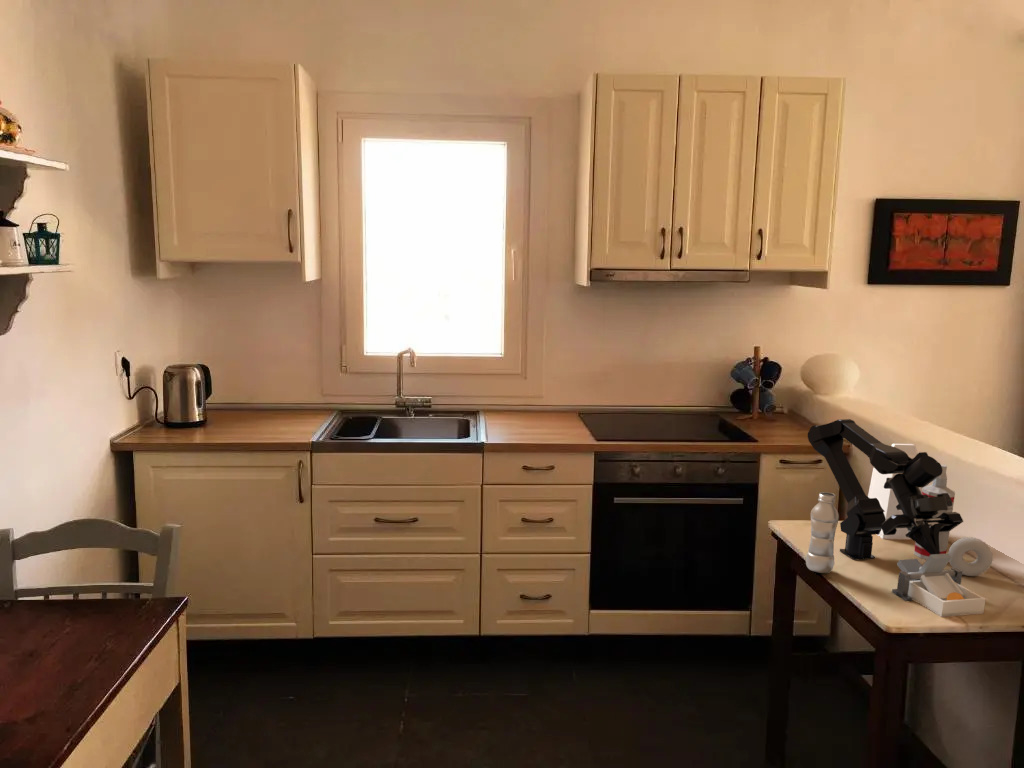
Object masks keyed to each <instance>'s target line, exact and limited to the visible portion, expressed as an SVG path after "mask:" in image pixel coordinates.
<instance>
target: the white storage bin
mask: <svg viewBox="0 0 1024 768" xmlns="http://www.w3.org/2000/svg"><path fill="white" fill-rule="evenodd" d="M955 583H956V582H955ZM956 585H957V586H958V587H959V589H960V590H961V591H962V593H963V594H964V595H963V598H964V599H960V600H947V599H940V598H938V597H936V596H935V595H933V594H931V593H930V592H929V591H928V590H927V588H926V587H925V585H924V584H923V583H922V581H921V580H917V581H910V582H909V590H908V596H910V597H912V601H914V600H915V602H916V601H917V602H916V603H918V602H919V603H920V604H919V603H918V604H919V605H921V604H922V605H921V606H923V605H924V606H925V607H924V606H923V607H924V608H926V607H927V608H926V609H928V610H929V609H930V611H931V612H933V613H935V614H936V615H938V616H939V617H941V618H945V617H946V618H947V617H956V616H965V615H966V616H968V615H979V614H981V615H982V614H984V611H985V606H986V604H985V603H986V598H985V597H983V596H981V595H980V594H978V593H976V592H974V591H973V590H971V589H968V588H966V587H965V586H963V585H962V584H961V585H959V584H958V583H956Z"/></svg>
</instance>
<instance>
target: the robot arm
mask: <svg viewBox="0 0 1024 768" xmlns="http://www.w3.org/2000/svg"><path fill="white" fill-rule="evenodd" d="M844 439H845V440H846V441H848V442H849V443H850V445H851V444H852V445H853V446H854V447H855V448H857V449H858V451H860V452H862V453H863V454H864V455H866V456H867V458H869V459H868V460H869V463H870V465H871V466H872V467H874V468H875V469H876V470H877V471H878V472H879V473H881V474H896V475H895V476H894V477H892V478H887V479H886V482H885V484H884V488H885V489H892V490H893V492H894V495H895V497H896V499H897V501H898V503H899V504H898V505H897V506H896V508H897V510H902V512H903V514H902V515H892V516H891V517H889V518H888V519H887V520H886V518H885V515H884V513H883V512H885V511H884V510H883V509H882V507H881V505H880V503H879V501H878V499H877V498H869V497H868V495H867V494H866V493H865V490H864V489H863V487H862V485H861V484H860V481H859V479H858V477H857V475H856V474H855V472H854V470H853V468H852V466H851V464H850V462H849V460H848V458H847V456H846V454H845V452H844V450H843V449H844ZM807 440H808V442H809V443H810V445H811V446H812V448H813V450H814V451H816V452H817V453H818V454H820V455H821V456H822V457H824V459H825V460H826V462H827V464H828V467H829V468H830V470H831V473H832V474H833V476H834V479H835V480H836V482H837V484H838V487H839V488H840V490H841V492H842V495H843V496H844V498H845V500H846V502H847V507H846V516H847V517H846V518H845V519H843V520H842V521H841V522H840V523H839V524H840V526H839V527H840V532H842V533H845V534H846V538H845V547H844V548H840V549H839V552H841V553H842V554H844V555H846V556H847V557H848V558H850V559H852V560H854V561H859V560H875V559H876V556H875V555H873V554H872V552H873V551H872V550H873V537H874V535H876V534H877V535H876V536H878V535H879V534H880V531H881V529H882V531H883V533H884V535H894V534H895V533H896V531H897V530H896V528H907V529H908V533H907V534H906V535H905V536H906V537H909V538H911V539H910V540H912V541H914V543H915V542H916V543H917V544H919V545H920V546H921V547H923V548H924V549H925V550H926V551H927V552H928V553H930V554H931V555H932V554H940V548H939V532H948V531H952V530H953V529H956V527H958V526H959V525H961V524H962V523H964V519H963V517H962V515H961V514H960V513H959V512H957V511H952V512H944V513H942V514H941V515H940V516H938V517H937V518H933V517H932V516H934V515H937V514H938V512H937V511H940V510H948V507H949V506H952V500H951V498H950V496H949V494H948V493H941V494H937V497H928V496H927V495H922V493H921V491H920V489H919V487H921V488H922V487H925V486H926V485H928V486H929V484H932V483H933V480H935V479H936V478H937V477H939V476H940V475H941V474H942V471H943V470H942V466H941V465H942V464H941V463H940V462H938V460H936V459H935V458H934V457H932V456H929V454H928V452H927V451H919V452H917V453H918V454H917V455H916V456H915V457H914V458H913V459H912V458H910V457H908V455H907V454H906V453H905V452H904V451H902V450H900V449H898V448H896V447H892V445H889V444H885V443H882V441H880V440H878V439H877V438H876V437H874V435H871V434H870V433H869V432H868V431H866V430H865V429H864V428H862V427H861V426H859V425H858V424H857V423H856V422H855V421H854V420H853V419H850V418H848V419H847V418H846V419H845V418H843V419H836V420H834V421H832V422H829V423H824V424H821V425H820V424H819V425H818V424H817V425H816V424H814V425H812V426H811V427H810V428H809V430H808V431H807ZM897 473H899V474H897ZM901 473H902V474H901ZM885 520H886V521H885Z"/></svg>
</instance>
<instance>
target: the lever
mask: <svg viewBox="0 0 1024 768" xmlns="http://www.w3.org/2000/svg"><path fill="white" fill-rule="evenodd" d="M951 558H952V557H951V556H950V554H949V553H948V552H947V554H932V555H930V556H929V557H928V559H927V560H926V559H925V562H923V564H921V562H920V561H919V559H918V558H905V559H899V560H898V561H897V563H896V565H897V567H898V568H899V569H900V572H904V571H905V572H906V573H908V574H910V581H917V580H921V581H922V583H923V584H924V585H925V587H926V588H927V590H928V591H929V592H930V593H931V594H933V595H935V596H936V597H938V598H940V599H947V596H948V595H949V594H950V593H953V592H956V593H959V594H961V595H962V596H963V595H964V594H963V593H962V591H961V590H960V589H959V587H958V586H957V585H956V583H955V582H954V581H953V579H952V578H951V577H954V576H955V571H954V570H951V569H945V567H947V565H948V564H949V563H950V562H949V561H950V559H951ZM944 569H945V570H944Z"/></svg>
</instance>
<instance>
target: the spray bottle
mask: <svg viewBox="0 0 1024 768" xmlns="http://www.w3.org/2000/svg"><path fill="white" fill-rule="evenodd" d="M941 466H942V470H943V471H942V474H941V475H940V476H939V477H937V478H936V479H935V480H933V481H932V483H931V485H929V484H928V486H925V487H923V489H922V495H927V496H928V497H937V494H941V493H948V494H949V496H950V498H951V500H952V506H949V507H948V510H940V511H937V512H938V514H937V515H934V516H932V517H933V518H937V517H938V516H940V515H941V514H942V513H944V512H954V503H955V496H956V492H955V490H953V489H950V488H949V487H948V486H947V483H948V475H947V468H948V465H947V464H941ZM949 538H950V531H948V532H939V548H940V554H948V547H949V546H948V545H949ZM913 555H915V556H917V557H918V558H919V559H923V560H925V561H926V560H927V559H928V557H929V556H930V555H931V554H930V553H928V552H927V551H926V550H925V549H924V548H923V547H921V546H920V545H919V544H917V543H916V542H915V541H914V549H913Z"/></svg>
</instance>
